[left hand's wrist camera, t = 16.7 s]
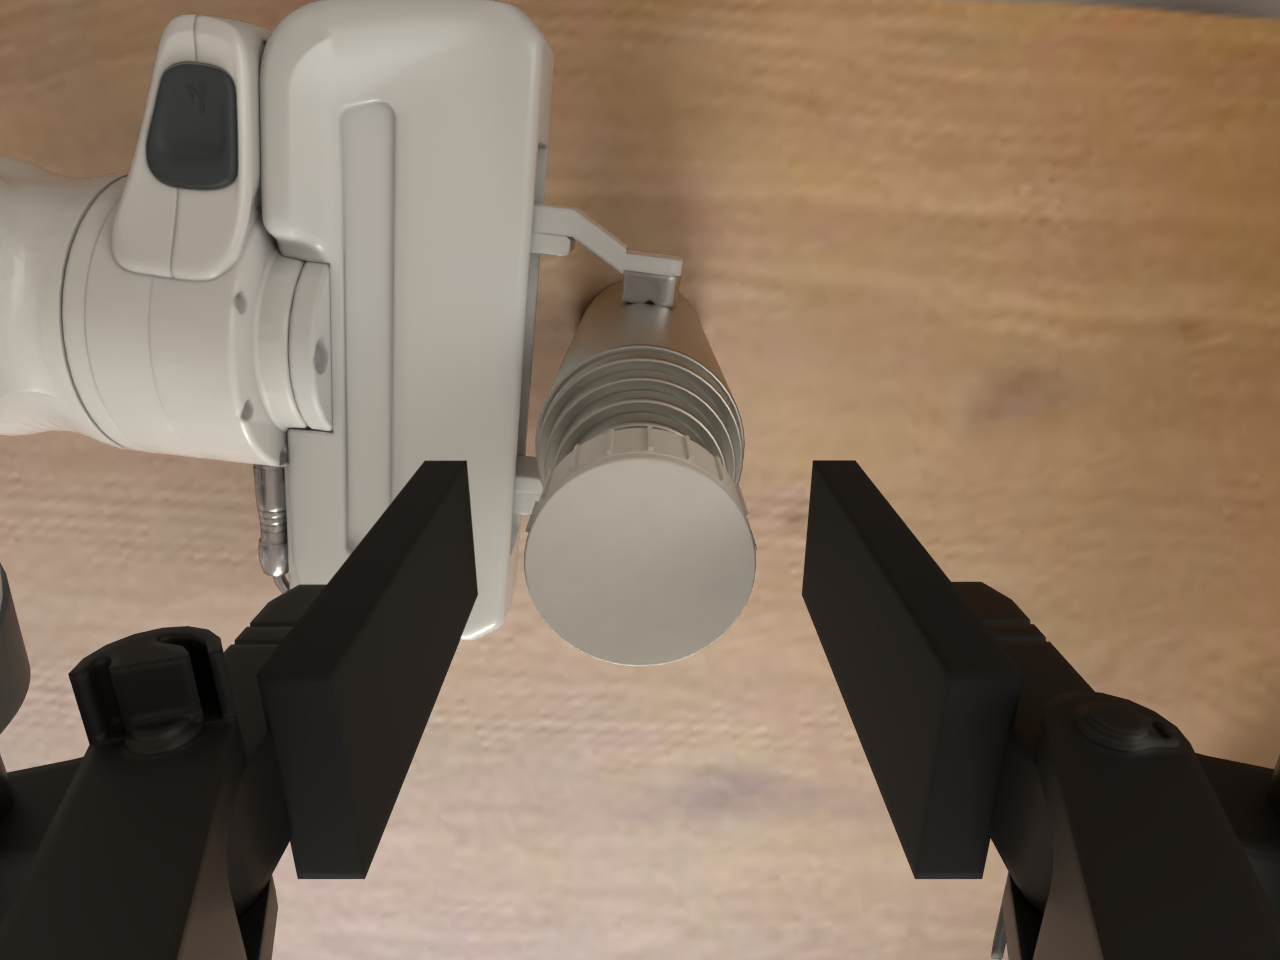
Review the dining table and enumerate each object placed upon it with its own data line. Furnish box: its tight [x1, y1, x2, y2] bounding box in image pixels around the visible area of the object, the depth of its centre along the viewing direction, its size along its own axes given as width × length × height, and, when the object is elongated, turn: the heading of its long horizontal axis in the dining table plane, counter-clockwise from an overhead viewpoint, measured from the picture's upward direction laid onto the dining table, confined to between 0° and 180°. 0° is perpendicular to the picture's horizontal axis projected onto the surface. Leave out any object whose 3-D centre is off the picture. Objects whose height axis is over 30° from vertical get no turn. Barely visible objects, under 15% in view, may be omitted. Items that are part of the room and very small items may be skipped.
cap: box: [524, 426, 756, 666], centre depth 14 cm, size 4×4×2 cm
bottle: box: [535, 281, 745, 488], centre depth 23 cm, size 5×5×20 cm
